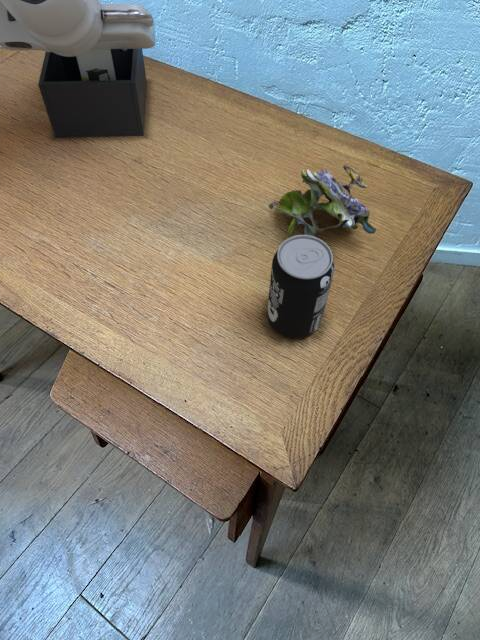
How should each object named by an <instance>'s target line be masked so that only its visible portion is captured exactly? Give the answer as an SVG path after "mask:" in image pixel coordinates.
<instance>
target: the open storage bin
mask: <svg viewBox="0 0 480 640" xmlns="http://www.w3.org/2000/svg"><path fill="white" fill-rule="evenodd" d="M110 50H111V55H112V61H113V66H114V71H115V77H116V80H108V81H82V78H81V73H80V69H79V66H78V61H77V57H76V56H73V57H67V56H61V55H58V54H55V53H53V52H45V53H44V57H43V62H42V65H41V69H40V74H39V80H38V83H37V86H38V89H39V92H40V95H41V98H42V102H43V105H44V108H45V111H46V113H47V117H48V119H49V123H50V126H51V129H52V132H53V136H54V138H56V139H58V138H59V139H60V138H61V139H63V138H64V139H65V138H100V137H101V138H103V137H104V138H105V137H141V136H145V123H146V121H145V120H146V103H147V89H148V88H147V87H148V86H147V84H148V81H147V73H146V67H145V60H144V53H143V49H127V51H116V50H115V49H110Z"/></svg>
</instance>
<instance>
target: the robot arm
mask: <svg viewBox="0 0 480 640" xmlns="http://www.w3.org/2000/svg"><path fill="white" fill-rule="evenodd" d="M155 27H156V26H155V20H154V17H153V15H152V13H150V12H149V11H148V10H147V8H145V7H144V6H142V5H140V4H137V3H100V0H0V47H1V48H3V49H4V50H7V51H42V52H45V53H46V52H53V53H55V54H58V55H61V56H67V57H73V56H79V55H82V54H84V53H86V52H88V51H89V50H90V49H115V50H116V51H127V49H142V50H146V49H147V50H148V49H151V48H154V47H155V45H156V29H155Z"/></svg>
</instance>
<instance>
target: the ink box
mask: <svg viewBox="0 0 480 640" xmlns="http://www.w3.org/2000/svg"><path fill="white" fill-rule="evenodd" d="M76 57H77V61H78V66H79V69H80V73H81V78H82V81H108V80H116V77H115V71H114V66H113V61H112V55H111V50H110V49H90V50H89V51H88V52H86V53H84V54H82V55H79V56H76Z"/></svg>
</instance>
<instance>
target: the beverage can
mask: <svg viewBox="0 0 480 640" xmlns="http://www.w3.org/2000/svg"><path fill="white" fill-rule="evenodd" d="M270 272H271V273H270V280H269V288H268V289H269V290H268V301H267V309H266V317H267V321H268V324H269V326H270V327H271V329H273V331H274V332H276V333H277V334H278V335H280V336H282V337H284V338H288V339H295V340H299V339H304V338H308V337H310V336H312V335H313V334H315V332H316V331H318V329H319V328H320V326H321V323H322V321H323V316H324V313H325V308H326V305H327V301H328V298H329V294H330V290H331V285H332V282H333V278H334V274H335V261H334V255H333V251H332V249H331V247H330V246H329V245H328V244H327V243H326V241H324V240H322V239H320V238H319V237H317V236H315V235H314V236H310V235H304V234H295V235H293V236H292V235H291V236H290V238H288V237H287V238H286V239H285V240H284V241H282V243H281V244H280V245H279V246H278V249H277V250H276V251H275V253H274V254H273V257H272V261H271V270H270Z"/></svg>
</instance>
